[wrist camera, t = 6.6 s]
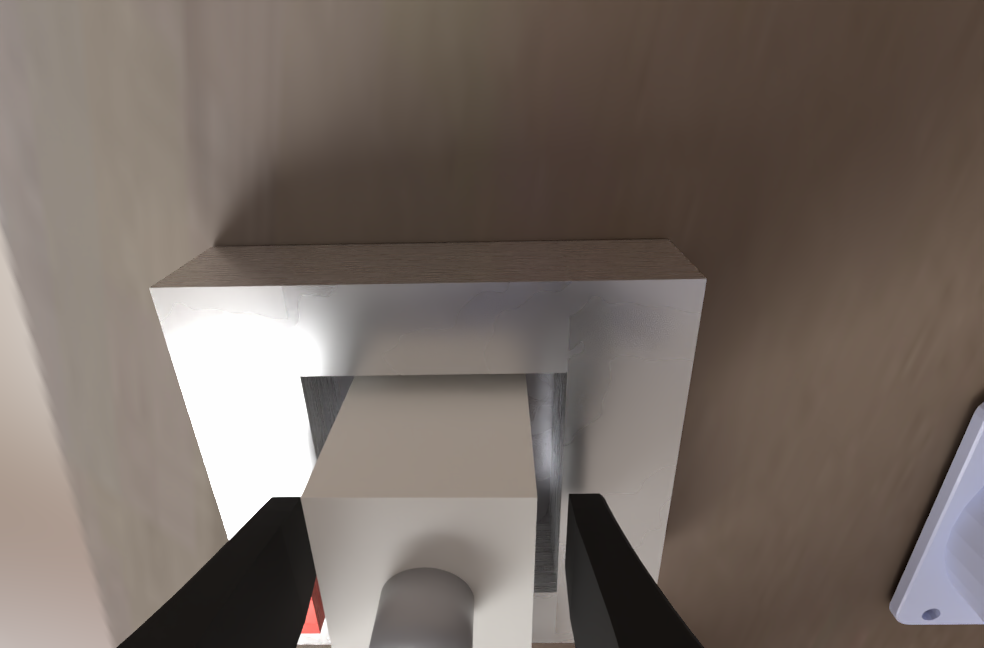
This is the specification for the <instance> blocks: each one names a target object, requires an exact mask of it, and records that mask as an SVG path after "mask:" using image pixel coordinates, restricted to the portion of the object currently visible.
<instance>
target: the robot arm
mask: <svg viewBox="0 0 984 648" xmlns="http://www.w3.org/2000/svg"><path fill="white" fill-rule="evenodd" d="M565 574H566V585H567V595H568V605H569V614H570V622H571V627H572V632H573V637H574V642H575V647H576V648H704V647H703V646H702V644H701V643H700V642H699V641H698V639H697V638H696V637H695V636H694V634H693V633H692V632H691V630H690V629H689V628H688V626H687V625H686V624H685V622H684V621H683V620H682V618H681V617H680V616H679V615H678V613H677V612H676V611H675V609H674V608H673V606H672V605H671V604H670V602H669V601H668V600H667V598H666V597H665V595H664V594H663V593H662V591H661V590H660V588H659V587H658V585H657V584H656V582H655V581H654V579H653V578H652V576H651V575H650V574H649V572H648V571H647V569H646V568H645V566H644V565H643V563H642V562H641V560H640V559H639V557H638V555H637V554H636V552H635V551H634V549H633V548H632V546H631V544H630V543H629V541H628V539H627V538H626V536H625V534H624V533H623V531H622V529H621V528H620V526H619V524H618V522H617V521H616V519H615V517H614V515H613V513H612V511H611V510H610V508H609V506H608V504H607V502H606V500H605V498H604V497H603V496H602V495H601V494H600V493H587V494H569V498H568V517H567V535H566V553H565ZM315 580H316V570H315V565H314V560H313V555H312V551H311V546H310V541H309V536H308V532H307V527H306V522H305V517H304V512H303V508H302V503H301V497H271V498H270V499H269V500H268V501H267V502H266V503H265V504H264V505H263V506H262V507H261V508H260V509H259V510H258V511H257V512H256V513H255V514H254V515H253V516H252V517H251V518H250V519H249V520H248V521H247V522H246V523H245V524H244V525H243V526H242V527H241V528H240V530H239V531H238V532H237V533H236V534H235V535H234V536H233V537H232V538H231V539H230V540H229V541H228V542H227V543H226V544H225V545H224V546H223V547H222V548H221V549H220V550H219V551H218V552H217V553H216V554H215V555H214V556H213V557H212V558H211V559H210V560H209V561H208V562H207V563H206V564H205V565H204V566H203V567H202V568H201V569H200V570H199V571H198V572H197V573H196V574H195V575H194V576H193V577H192V578H191V579H190V580H189V581H188V582H187V583H186V584H185V585H184V586H183V587H182V588H181V589H180V590H179V591H178V592H177V593H176V594H175V595H174V596H173V597H172V598H171V599H169V600H168V601H167V602H166V603H165V604H164V605H163V606H162V607H161V608H160V609H159V610H158V611H156V612H155V613H154V614H153V615H152V616H151V617H150V618H149V619H148V620H147V621H146V622H145V623H143V624H142V625H141V626H140V627H139V628H138V629H137V630H136V631H135V632H134V633H133V634H131V635H130V636H129V637H128V638H127V639H126V640H125V641H123V642H122V643H121V644H120V645H119V646H118V647H117V648H296V646H297V643H298V640H299V638H300V635H301V632H302V629H303V626H304V623H305V620H306V616H307V613H308V609H309V605H310V601H311V597H312V593H313V588H314V584H315ZM889 609H890V611H891V613H892V614H893V615H894V617H895V618H896V620H897V621H898V622H900V623H902V624H909V625H930V624H984V402H983V403H981V404H980V405H979V406H978V407H977V409H976V410H975V412H974V414H973V416H972V419H971V421H970V423H969V426H968V428H967V430H966V432H965V435H964V437H963V439H962V441H961V444H960V446H959V448H958V450H957V453H956V455H955V457H954V460H953V462H952V464H951V466H950V469H949V471H948V473H947V475H946V478H945V480H944V482H943V484H942V487H941V489H940V491H939V494H938V496H937V498H936V500H935V503H934V505H933V507H932V509H931V512H930V514H929V516H928V518H927V521H926V523H925V525H924V527H923V530H922V532H921V534H920V537H919V539H918V541H917V543H916V546H915V548H914V550H913V552H912V555H911V557H910V559H909V561H908V564H907V566H906V568H905V571H904V573H903V575H902V577H901V580H900V582H899V584H898V586H897V589H896V591H895V593H894V595H893V598H892V600H891V602H890V606H889Z"/></svg>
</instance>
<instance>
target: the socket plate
mask: <svg viewBox="0 0 984 648" xmlns="http://www.w3.org/2000/svg"><path fill="white" fill-rule="evenodd" d="M706 281H707V279H706V278H705V277H704V276H703V275H702V273H701V272H700V271H699V270H698V269H697V268H696V267H695V266H694V265H693V264H692V263H691V262H690V261H689V260H688V259H687V258H686V257H685V256H684V255H683V254H682V253H681V252H680V251H679V250H678V249H677V248H676V247H675V245H674V244H673V243H672V242H671V241H670V240H669V239H642V240H583V241H525V242H466V243H408V244H349V245H290V246H232V247H211V248H209V249H208V250H206V251H205V252H203V253H202V254H200V255H198V256H197V257H195V258H194V259H192V260H191V261H189V262H188V263H186V264H185V265H183V266H182V267H180V268H179V269H177V270H176V271H174V272H173V273H171V274H170V275H168V276H166V277H165V278H163V279H162V280H160V281H159V282H157V283H156V284H154V285H153V286H151V287H150V288H149V289H150V292H151V295H152V298H153V302H154V305H155V308H156V311H157V314H158V317H159V321H160V324H161V327H162V330H163V333H164V336H165V340H166V343H167V346H168V349H169V352H170V355H171V358H172V362H173V365H174V368H175V371H176V374H177V377H178V381H179V384H180V387H181V390H182V393H183V396H184V400H185V403H186V406H187V409H188V412H189V415H190V419H191V422H192V425H193V428H194V431H195V434H196V438H197V441H198V444H199V447H200V450H201V453H202V456H203V460H204V463H205V466H206V469H207V472H208V475H209V479H210V482H211V485H212V488H213V491H214V494H215V498H216V501H217V504H218V507H219V510H220V513H221V517H222V520H223V523H224V526H225V529H226V532H227V536H228V539H229V540H230V539H231V538H232V537H233V536H234V535H235V534H236V533H237V532H238V531H239V530H240V528H241V527H242V526H243V525H244V524H245V523H246V522H247V521H248V520H249V519H250V518H251V517H252V516H253V515H254V514H255V513H256V512H257V511H258V510H259V509H260V508H261V507H262V506H263V505H264V504H265V503H266V502H267V501H268V500H269V499H270V498H271V497H301V495H302V493H303V491H304V489H305V486H306V484H307V482H308V480H309V477H310V475H311V473H312V471H313V468H314V466H315V464H316V462H317V459H318V457H319V455H320V453H321V451H322V448H323V446H324V444H325V442H326V439H327V437H328V435H329V433H330V430H331V428H332V426H333V424H334V421H335V419H336V417H337V415H338V412H339V410H340V408H341V406H342V404H343V401H344V399H345V397H346V395H347V392H348V390H349V388H350V386H351V383H352V381H353V379H354V377H355V376H372V375H445V374H518V373H526V383H527V394H528V404H529V415H530V425H531V436H532V446H533V457H534V467H535V478H536V488H537V520H536V544H535V569H534V594H533V618H532V643H575V642H574V637H573V632H572V627H571V622H570V614H569V605H568V595H567V585H566V574H565V553H566V535H567V517H568V498H569V494H587V493H600V494H601V495H602V496H603V497H604V498H605V500H606V502H607V504H608V506H609V508H610V510H611V511H612V513H613V515H614V517H615V519H616V521H617V522H618V524H619V526H620V528H621V529H622V531H623V533H624V534H625V536H626V538H627V539H628V541H629V543H630V544H631V546H632V548H633V549H634V551H635V552H636V554H637V555H638V557H639V559H640V560H641V562H642V563H643V565H644V566H645V568H646V569H647V571H648V572H649V574H650V575H651V576H652V578H653V579H654V581H655V582H656V584H657V582H658V576H659V570H660V564H661V558H662V551H663V545H664V539H665V533H666V527H667V521H668V514H669V508H670V502H671V496H672V490H673V484H674V478H675V471H676V465H677V459H678V453H679V447H680V441H681V434H682V428H683V422H684V416H685V410H686V404H687V398H688V391H689V385H690V379H691V373H692V367H693V361H694V354H695V348H696V342H697V336H698V330H699V324H700V318H701V311H702V305H703V299H704V293H705V287H706ZM300 644H331V642H330V637H329V632H328V627H327V623H326V618H325V613H324V608H323V603H322V599H321V594H320V589H319V584H318V579H317V575H316V580H315V584H314V588H313V593H312V597H311V601H310V605H309V609H308V613H307V616H306V620H305V623H304V626H303V629H302V632H301V635H300V638H299V640H298V643H297V645H300Z"/></svg>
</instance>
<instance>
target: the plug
mask: <svg viewBox="0 0 984 648" xmlns="http://www.w3.org/2000/svg"><path fill="white" fill-rule="evenodd" d="M301 503H302V508H303V512H304V517H305V522H306V527H307V532H308V536H309V541H310V546H311V551H312V555H313V560H314V565H315V570H316V575H317V579H318V584H319V589H320V594H321V599H322V603H323V608H324V613H325V618H326V623H327V627H328V632H329V637H330V642H331V647H332V648H531V643H532V618H533V594H534V569H535V544H536V520H537V488H536V478H535V467H534V457H533V446H532V436H531V425H530V415H529V404H528V394H527V383H526V373H518V374H445V375H372V376H355V377H354V379H353V381H352V383H351V386H350V388H349V390H348V392H347V395H346V397H345V399H344V401H343V404H342V406H341V408H340V410H339V412H338V415H337V417H336V419H335V421H334V424H333V426H332V428H331V430H330V433H329V435H328V437H327V439H326V442H325V444H324V446H323V448H322V451H321V453H320V455H319V457H318V459H317V462H316V464H315V466H314V468H313V471H312V473H311V475H310V477H309V480H308V482H307V484H306V486H305V489H304V491H303V493H302V495H301Z"/></svg>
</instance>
